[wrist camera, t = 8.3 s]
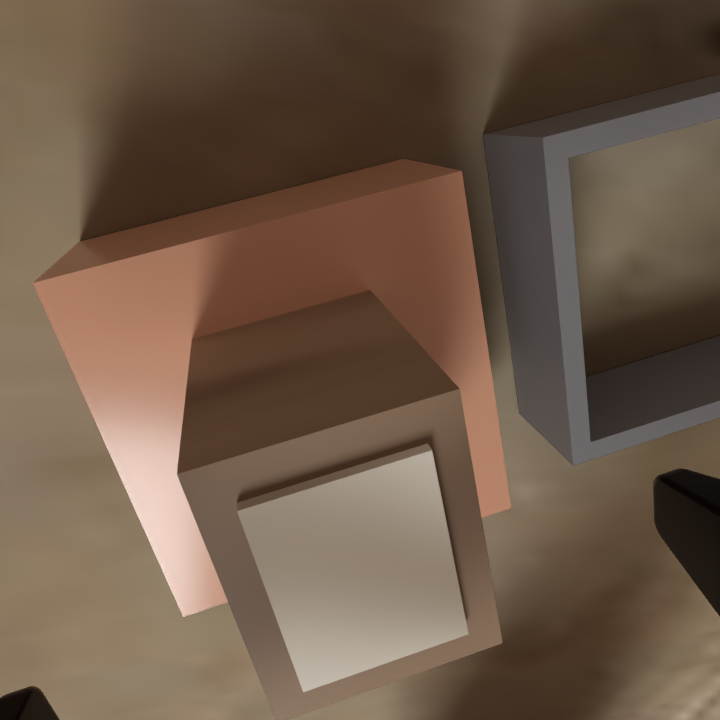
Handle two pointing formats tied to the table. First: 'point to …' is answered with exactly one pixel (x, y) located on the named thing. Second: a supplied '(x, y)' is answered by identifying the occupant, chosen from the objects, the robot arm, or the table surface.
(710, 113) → the charcoal bin
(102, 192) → the table surface
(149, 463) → the terracotta stand
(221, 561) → the walnut box
